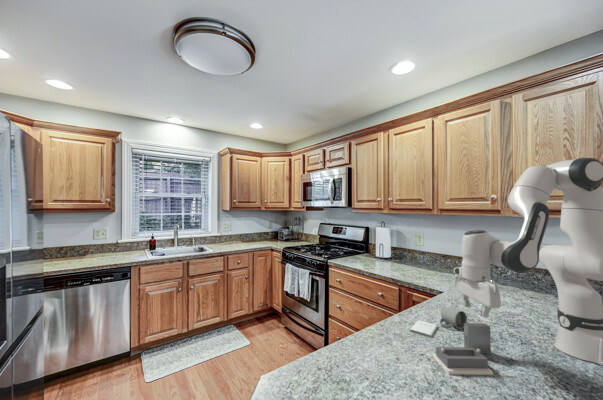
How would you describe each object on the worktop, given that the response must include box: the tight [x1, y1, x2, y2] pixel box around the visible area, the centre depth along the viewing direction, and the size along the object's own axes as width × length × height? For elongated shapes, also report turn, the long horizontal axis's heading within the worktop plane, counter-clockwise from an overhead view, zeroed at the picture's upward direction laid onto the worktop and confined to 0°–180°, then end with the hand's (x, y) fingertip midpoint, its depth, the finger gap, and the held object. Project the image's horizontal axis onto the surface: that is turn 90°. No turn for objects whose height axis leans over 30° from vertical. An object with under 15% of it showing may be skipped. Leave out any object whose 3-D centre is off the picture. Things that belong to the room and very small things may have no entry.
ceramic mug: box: [439, 306, 468, 330], centre depth 115 cm, size 11×8×8 cm
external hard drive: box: [409, 319, 438, 338], centre depth 111 cm, size 2×8×12 cm
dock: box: [432, 346, 494, 376], centre depth 85 cm, size 14×10×5 cm
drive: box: [463, 322, 492, 355], centre depth 93 cm, size 8×2×10 cm, turn 89°
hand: (475, 311), depth 93 cm, fingers open, 8 cm apart
